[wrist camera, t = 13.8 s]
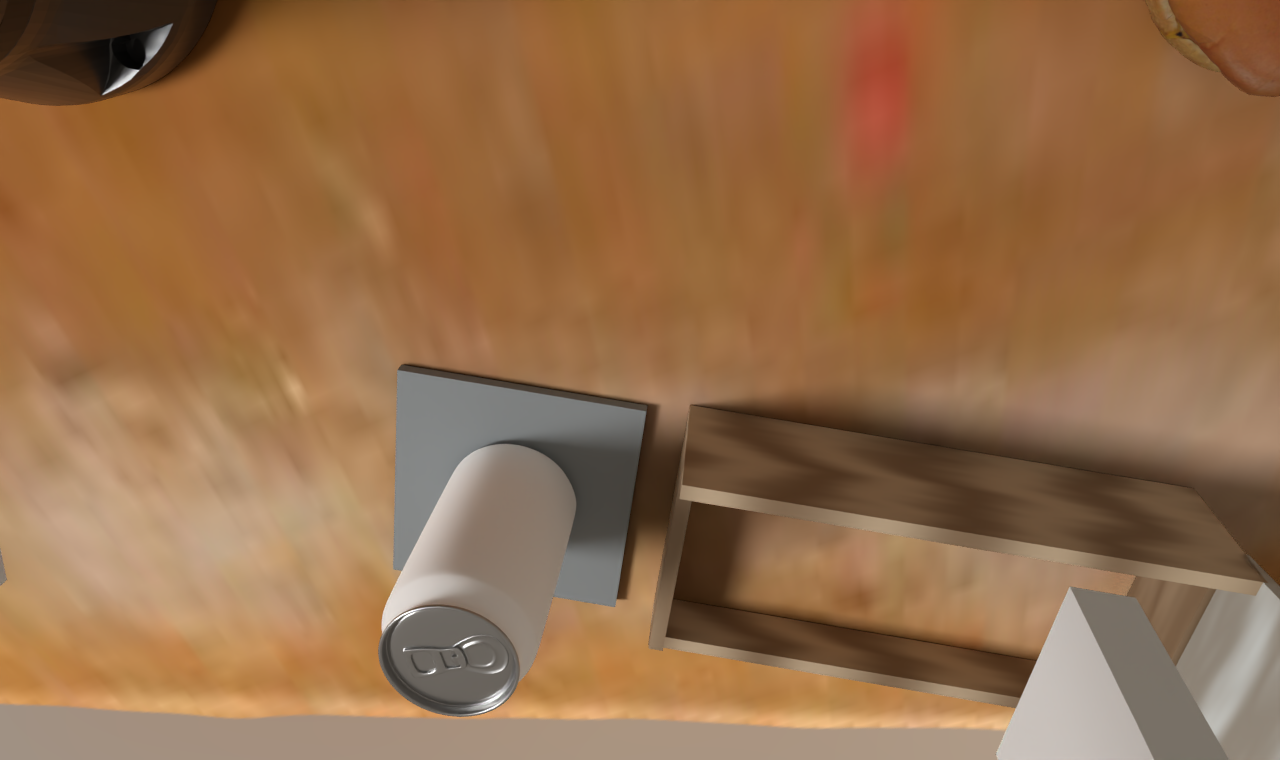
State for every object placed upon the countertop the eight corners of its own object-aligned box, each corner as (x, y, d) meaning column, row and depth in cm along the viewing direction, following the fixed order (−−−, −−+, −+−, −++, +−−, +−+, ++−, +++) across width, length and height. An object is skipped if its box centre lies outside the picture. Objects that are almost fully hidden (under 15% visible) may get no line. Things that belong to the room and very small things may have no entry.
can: (591, 539, 48) (549, 717, 37) (472, 555, 49) (398, 732, 39) (559, 429, 46) (503, 587, 35) (434, 449, 47) (343, 608, 36)
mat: (397, 562, 51) (393, 569, 50) (401, 364, 45) (397, 369, 45) (616, 599, 51) (615, 607, 50) (647, 405, 45) (646, 411, 45)
